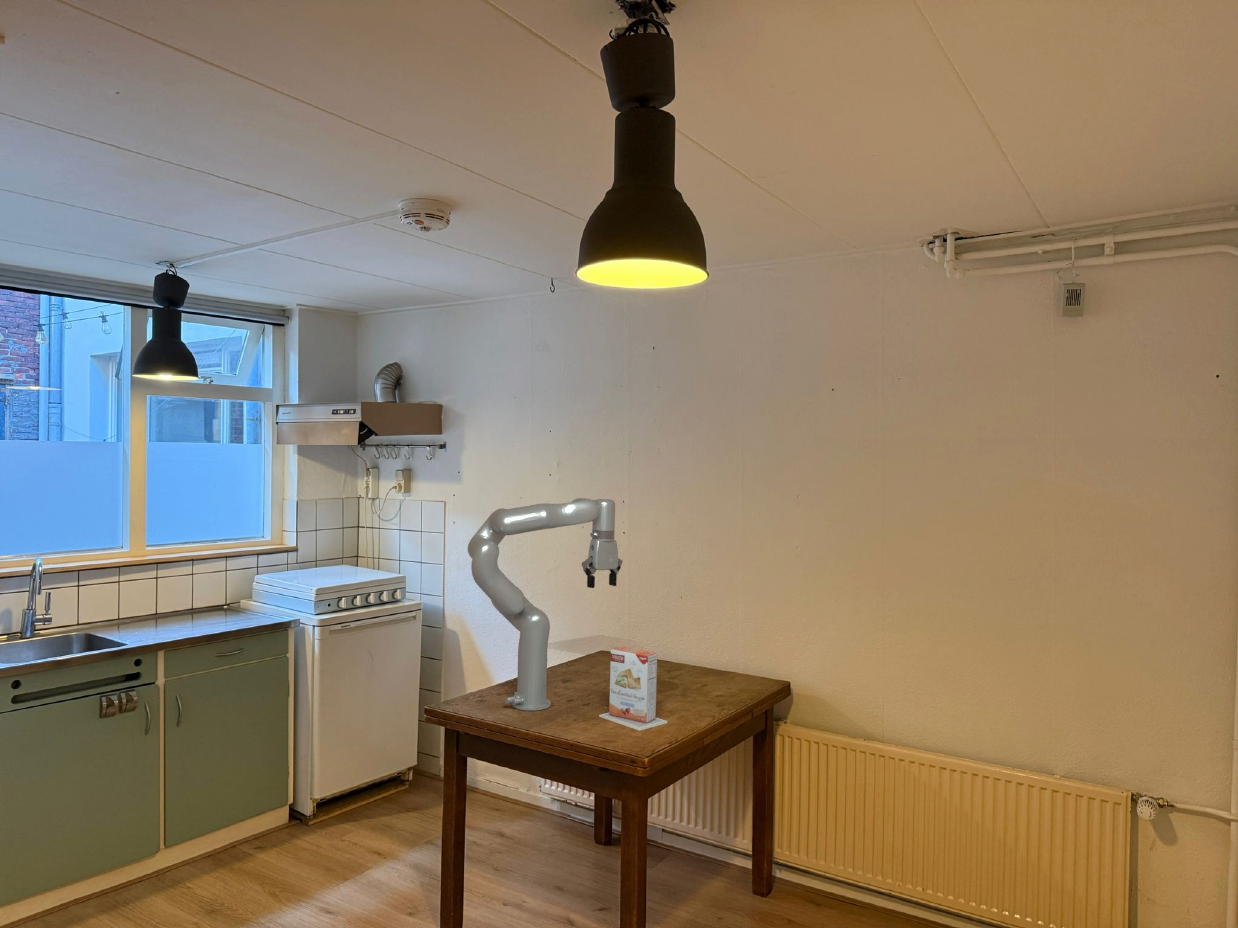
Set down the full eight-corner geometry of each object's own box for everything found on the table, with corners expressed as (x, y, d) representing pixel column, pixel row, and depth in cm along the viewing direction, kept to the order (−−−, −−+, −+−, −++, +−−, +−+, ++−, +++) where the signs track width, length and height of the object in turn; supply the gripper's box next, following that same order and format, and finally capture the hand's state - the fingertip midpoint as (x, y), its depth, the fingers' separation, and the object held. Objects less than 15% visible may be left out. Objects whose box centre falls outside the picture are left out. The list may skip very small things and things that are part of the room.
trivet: (639, 730, 246) (639, 728, 246) (599, 716, 259) (599, 714, 259) (667, 722, 254) (667, 720, 254) (626, 709, 267) (626, 707, 267)
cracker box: (608, 715, 258) (609, 648, 258) (618, 711, 263) (620, 645, 263) (645, 724, 250) (647, 655, 250) (656, 719, 255) (658, 651, 255)
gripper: (590, 537, 270) (589, 589, 269) (629, 535, 281) (628, 586, 281) (576, 535, 275) (574, 587, 275) (615, 534, 287) (613, 583, 287)
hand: (601, 586), depth 278 cm, fingers open, 9 cm apart
